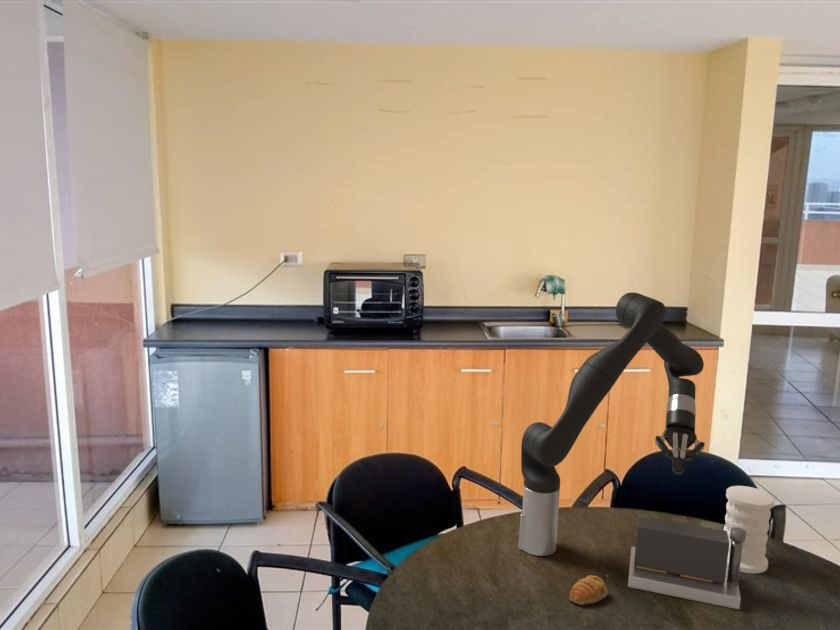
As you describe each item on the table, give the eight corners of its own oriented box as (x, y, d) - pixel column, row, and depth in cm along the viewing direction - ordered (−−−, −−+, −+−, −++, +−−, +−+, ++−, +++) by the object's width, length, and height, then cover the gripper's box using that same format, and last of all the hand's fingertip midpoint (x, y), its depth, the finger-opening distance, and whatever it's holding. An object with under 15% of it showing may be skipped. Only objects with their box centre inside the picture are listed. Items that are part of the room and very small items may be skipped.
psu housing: (627, 586, 157) (632, 536, 154) (630, 557, 170) (634, 510, 167) (740, 609, 149) (746, 556, 146) (733, 577, 162) (739, 527, 159)
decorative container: (756, 579, 161) (765, 510, 158) (709, 559, 170) (716, 493, 166) (775, 562, 169) (783, 496, 166) (729, 544, 177) (736, 481, 174)
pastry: (585, 612, 147) (586, 596, 146) (561, 598, 152) (562, 583, 152) (610, 596, 153) (611, 581, 152) (585, 583, 158) (586, 568, 158)
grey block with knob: (634, 565, 159) (638, 519, 157) (635, 553, 165) (638, 508, 163) (741, 586, 152) (747, 538, 150) (739, 572, 157) (744, 526, 155)
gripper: (656, 405, 182) (652, 463, 173) (708, 411, 178) (706, 471, 169) (654, 417, 188) (650, 474, 179) (705, 424, 184) (703, 482, 175)
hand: (677, 473), depth 174 cm, fingers closed
